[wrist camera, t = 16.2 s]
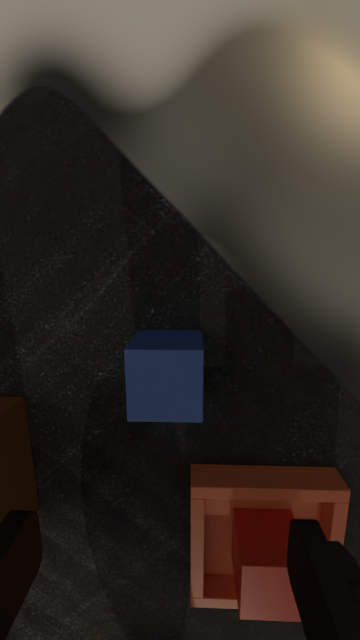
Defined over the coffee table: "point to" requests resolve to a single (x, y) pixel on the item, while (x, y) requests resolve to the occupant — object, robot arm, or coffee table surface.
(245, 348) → the coffee table surface
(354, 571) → the robot arm
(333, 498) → the red tray
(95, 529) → the coffee table surface
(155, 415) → the blue block
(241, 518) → the red block
